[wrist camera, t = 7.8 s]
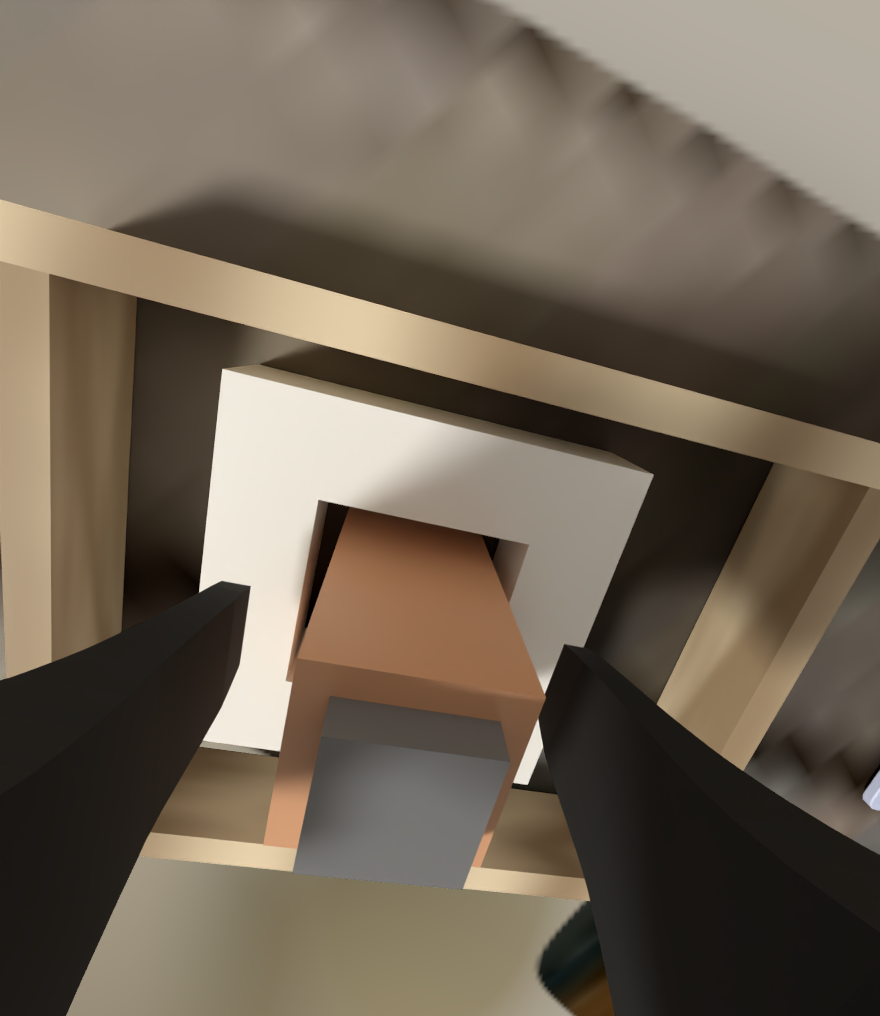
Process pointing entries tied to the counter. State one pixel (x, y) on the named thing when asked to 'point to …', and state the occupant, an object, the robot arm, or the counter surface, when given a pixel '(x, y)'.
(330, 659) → the peg
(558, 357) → the tray
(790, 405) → the counter surface
